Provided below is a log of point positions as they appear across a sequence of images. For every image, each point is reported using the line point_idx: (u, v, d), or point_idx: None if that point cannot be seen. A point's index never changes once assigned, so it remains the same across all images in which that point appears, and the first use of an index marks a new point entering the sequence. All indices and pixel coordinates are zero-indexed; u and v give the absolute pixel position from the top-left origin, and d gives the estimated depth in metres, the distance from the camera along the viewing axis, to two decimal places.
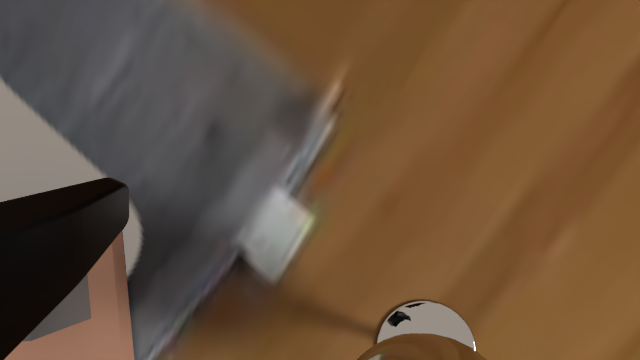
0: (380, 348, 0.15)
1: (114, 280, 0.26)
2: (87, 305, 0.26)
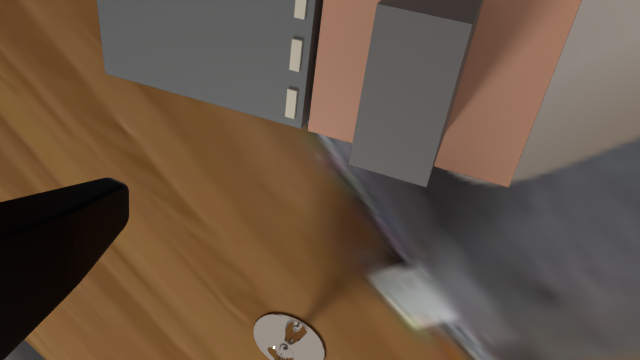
0: None
1: None
2: None
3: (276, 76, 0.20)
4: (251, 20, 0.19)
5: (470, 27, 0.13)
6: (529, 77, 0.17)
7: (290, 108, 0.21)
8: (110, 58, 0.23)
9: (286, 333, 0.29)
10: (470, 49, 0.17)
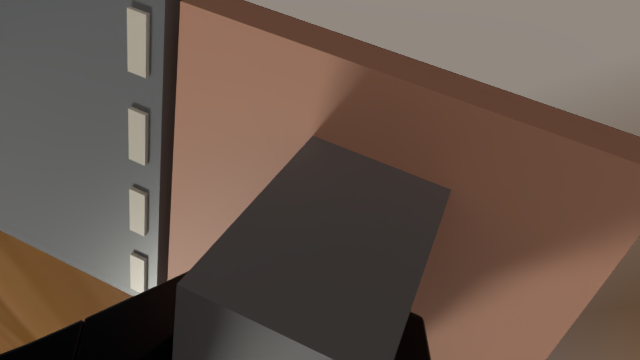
0: None
1: None
2: None
3: (113, 231, 0.12)
4: (67, 148, 0.12)
5: None
6: (518, 333, 0.09)
7: (137, 279, 0.13)
8: None
9: None
10: None
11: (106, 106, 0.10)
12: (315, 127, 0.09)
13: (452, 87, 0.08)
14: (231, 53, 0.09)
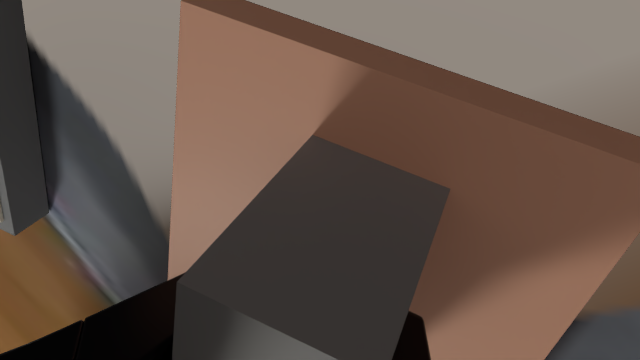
0: None
1: None
2: None
3: None
4: None
5: None
6: (517, 332, 0.09)
7: None
8: None
9: None
10: None
11: None
12: (315, 126, 0.09)
13: (451, 86, 0.08)
14: (231, 53, 0.09)
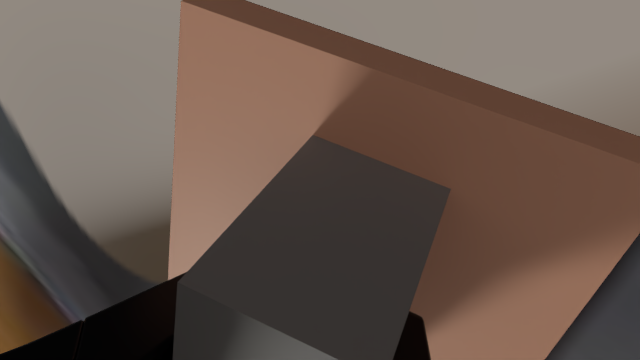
0: None
1: None
2: None
3: None
4: None
5: None
6: (518, 332, 0.09)
7: None
8: None
9: None
10: None
11: None
12: (315, 126, 0.09)
13: (452, 86, 0.08)
14: (232, 53, 0.09)
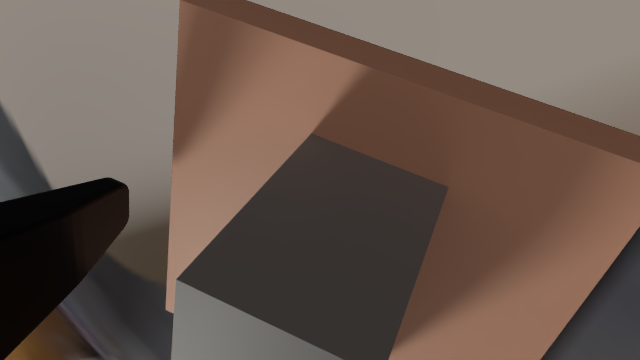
0: None
1: None
2: None
3: None
4: None
5: None
6: (515, 329, 0.09)
7: None
8: None
9: None
10: None
11: None
12: (313, 125, 0.09)
13: (449, 85, 0.08)
14: (230, 53, 0.09)
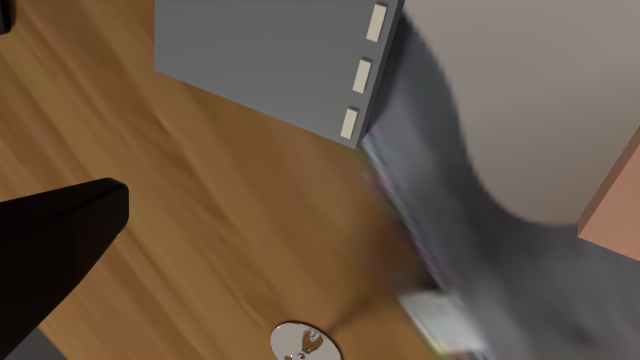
0: None
1: None
2: None
3: (337, 94, 0.20)
4: (319, 36, 0.19)
5: None
6: None
7: (347, 128, 0.20)
8: (161, 55, 0.22)
9: (305, 343, 0.29)
10: None
11: (357, 4, 0.18)
12: None
13: None
14: None
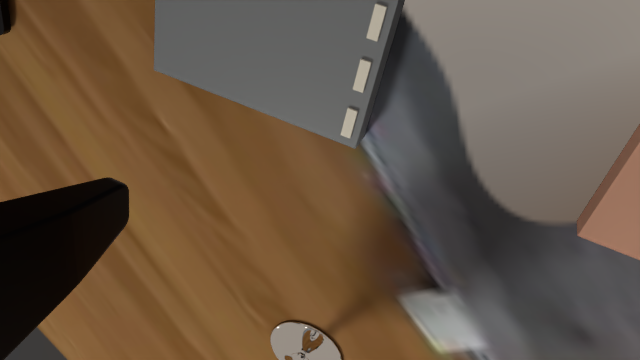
0: None
1: None
2: None
3: (337, 93, 0.20)
4: (319, 35, 0.19)
5: None
6: None
7: (347, 127, 0.20)
8: (161, 55, 0.22)
9: (305, 342, 0.29)
10: None
11: (357, 4, 0.18)
12: None
13: None
14: None
